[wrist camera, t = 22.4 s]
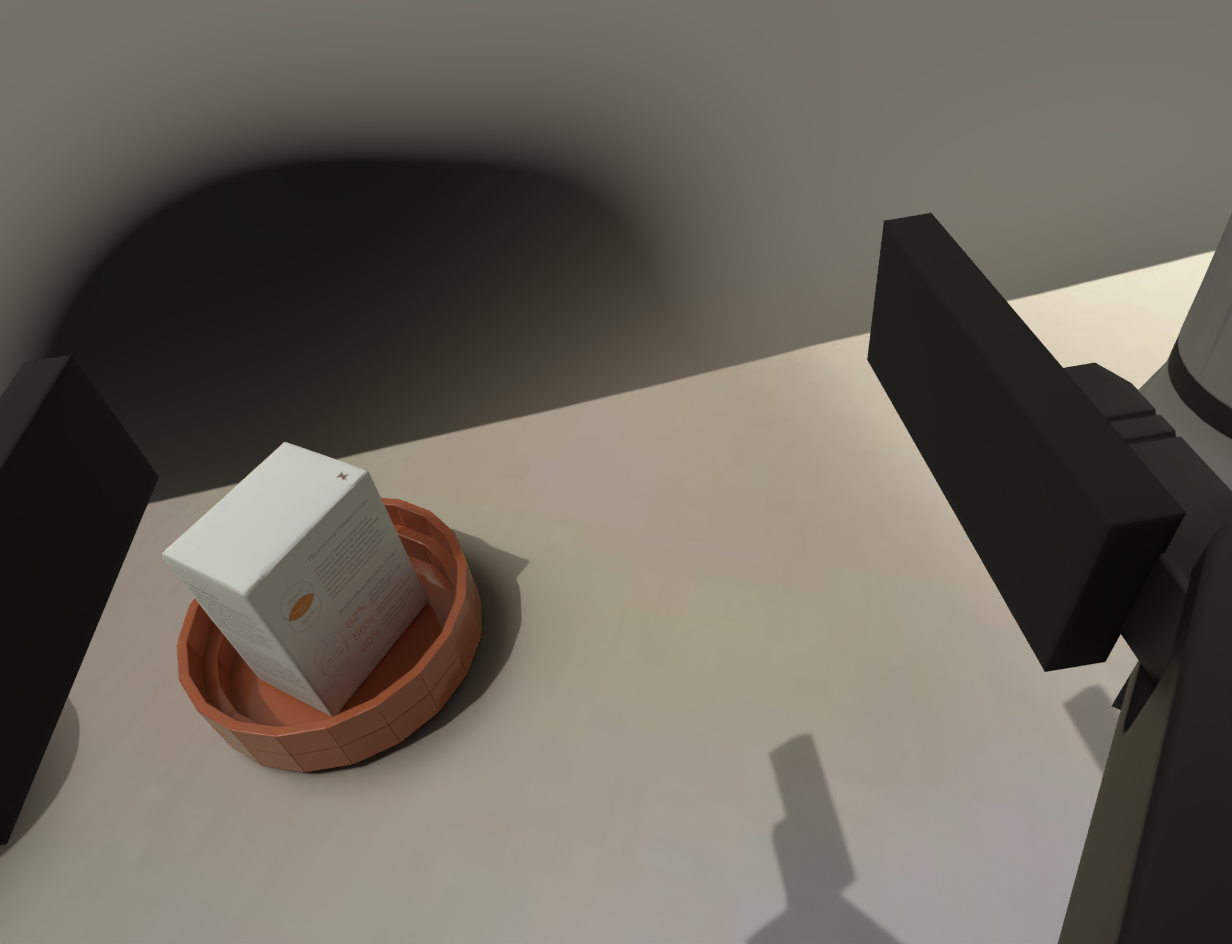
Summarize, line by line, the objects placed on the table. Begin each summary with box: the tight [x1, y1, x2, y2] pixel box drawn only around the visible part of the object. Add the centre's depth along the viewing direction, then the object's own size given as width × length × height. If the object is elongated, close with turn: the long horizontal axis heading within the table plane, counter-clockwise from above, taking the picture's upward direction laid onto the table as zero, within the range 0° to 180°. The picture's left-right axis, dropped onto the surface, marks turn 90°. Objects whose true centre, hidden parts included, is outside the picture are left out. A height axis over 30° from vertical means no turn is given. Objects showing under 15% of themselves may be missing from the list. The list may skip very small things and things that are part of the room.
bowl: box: [177, 498, 482, 772], centre depth 43 cm, size 15×15×4 cm
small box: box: [162, 442, 428, 717], centre depth 40 cm, size 8×6×10 cm
